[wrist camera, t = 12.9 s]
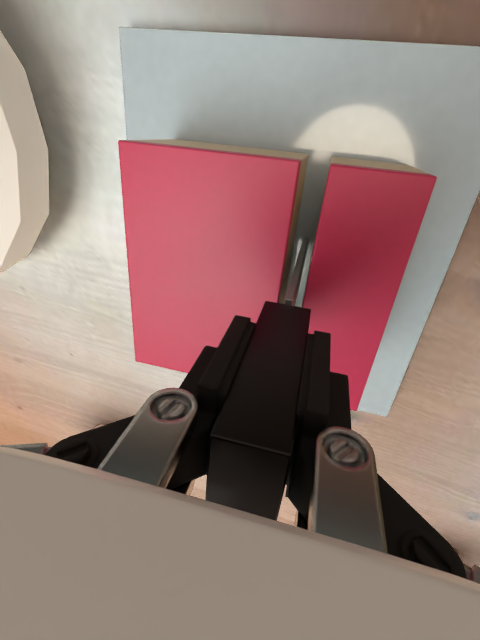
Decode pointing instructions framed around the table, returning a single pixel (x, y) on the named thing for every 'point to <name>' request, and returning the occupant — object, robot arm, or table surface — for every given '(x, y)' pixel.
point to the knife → (261, 410)
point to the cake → (204, 240)
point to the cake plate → (327, 135)
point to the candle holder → (20, 163)
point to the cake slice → (362, 258)
